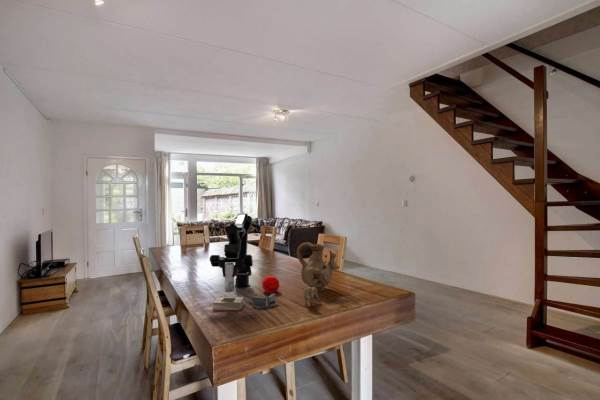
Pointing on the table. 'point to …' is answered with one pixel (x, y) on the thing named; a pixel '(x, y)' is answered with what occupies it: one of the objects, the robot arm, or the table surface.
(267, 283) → the ball
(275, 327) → the table surface
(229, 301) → the block with rectangular hole
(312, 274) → the ceramic vessel
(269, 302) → the V-block
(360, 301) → the table surface
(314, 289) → the lion figurine
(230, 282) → the axle
